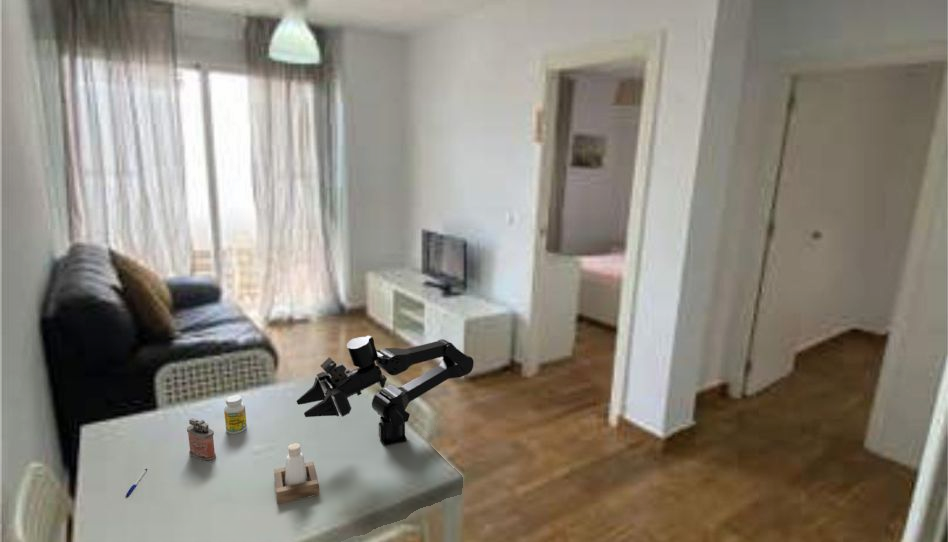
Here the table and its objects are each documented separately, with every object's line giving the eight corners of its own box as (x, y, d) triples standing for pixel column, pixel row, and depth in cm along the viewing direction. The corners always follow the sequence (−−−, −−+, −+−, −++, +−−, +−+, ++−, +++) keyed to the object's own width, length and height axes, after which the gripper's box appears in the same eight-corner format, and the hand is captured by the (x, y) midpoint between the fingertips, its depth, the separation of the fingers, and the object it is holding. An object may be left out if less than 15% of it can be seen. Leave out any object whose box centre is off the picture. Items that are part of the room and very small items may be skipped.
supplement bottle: (244, 422, 153) (242, 392, 151) (248, 431, 149) (246, 400, 147) (224, 427, 150) (221, 396, 148) (227, 436, 146) (225, 404, 144)
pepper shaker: (286, 497, 122) (283, 454, 119) (282, 484, 126) (280, 442, 124) (310, 490, 124) (308, 449, 122) (306, 478, 129) (304, 437, 126)
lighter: (219, 456, 136) (216, 421, 134) (208, 463, 133) (204, 428, 131) (197, 448, 140) (194, 414, 137) (186, 455, 137) (182, 420, 134)
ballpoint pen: (129, 497, 120) (129, 494, 120) (125, 498, 120) (124, 494, 120) (147, 470, 130) (147, 466, 130) (143, 470, 130) (143, 467, 130)
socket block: (313, 472, 131) (313, 461, 131) (319, 494, 123) (318, 483, 122) (274, 480, 128) (273, 469, 127) (277, 504, 119) (276, 492, 119)
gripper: (338, 344, 143) (282, 370, 136) (358, 361, 127) (295, 392, 120) (352, 379, 146) (298, 407, 139) (374, 401, 130) (313, 433, 123)
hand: (300, 408), depth 130 cm, fingers open, 9 cm apart
